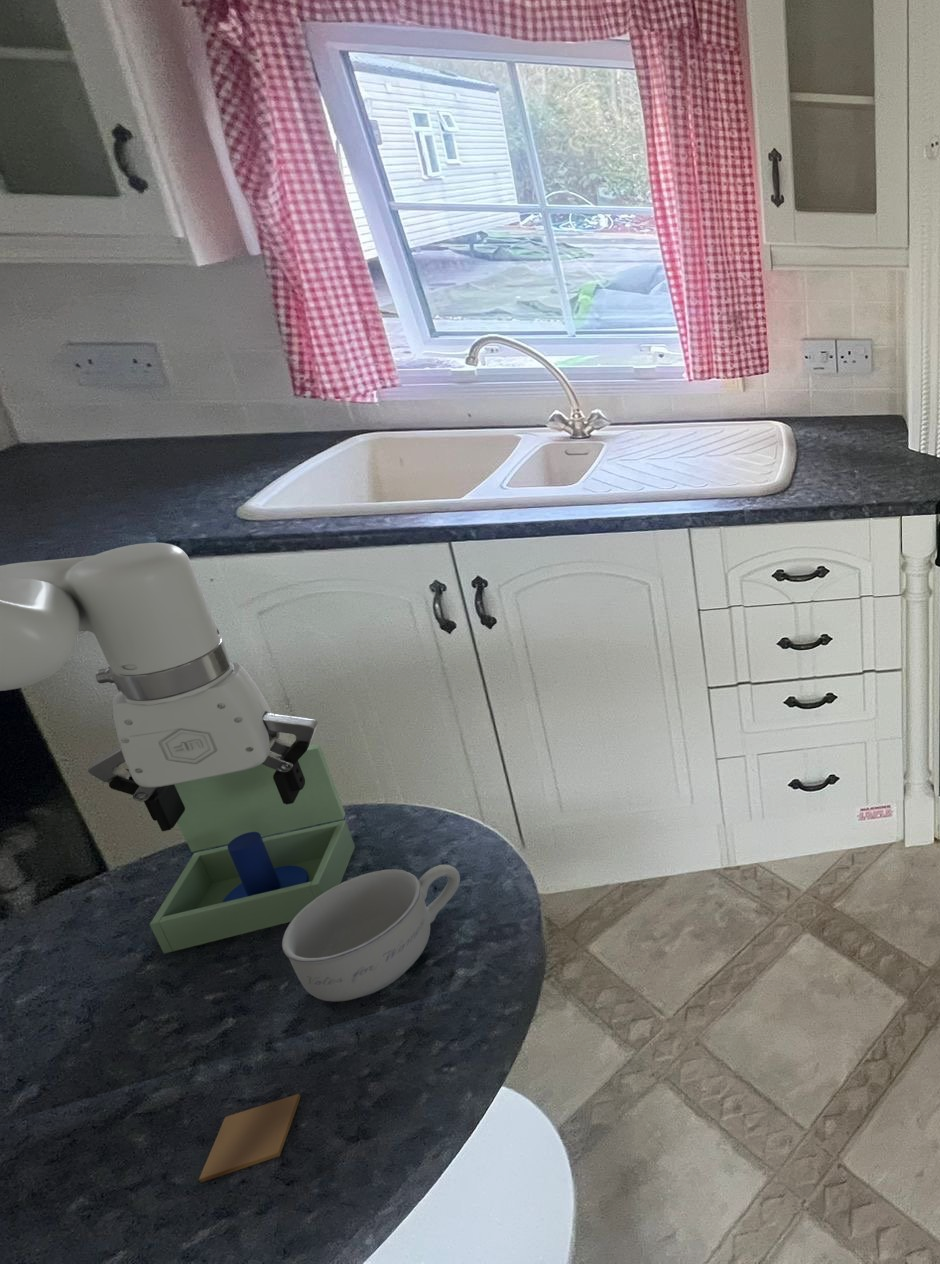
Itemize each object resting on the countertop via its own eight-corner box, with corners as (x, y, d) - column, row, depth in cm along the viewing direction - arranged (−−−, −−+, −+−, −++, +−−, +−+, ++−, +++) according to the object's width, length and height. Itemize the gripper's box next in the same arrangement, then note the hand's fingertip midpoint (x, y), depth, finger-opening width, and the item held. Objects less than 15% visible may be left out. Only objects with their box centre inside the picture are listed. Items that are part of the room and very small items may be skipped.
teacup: (307, 1042, 75) (282, 981, 72) (302, 960, 83) (278, 902, 80) (483, 957, 84) (466, 899, 81) (463, 890, 92) (448, 834, 89)
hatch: (317, 748, 90) (319, 743, 90) (155, 778, 84) (159, 773, 85) (343, 819, 94) (345, 814, 94) (191, 852, 89) (194, 846, 89)
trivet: (200, 1183, 65) (198, 1179, 65) (226, 1120, 69) (225, 1116, 69) (280, 1156, 67) (278, 1152, 67) (301, 1096, 71) (299, 1093, 71)
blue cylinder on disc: (209, 933, 85) (183, 876, 82) (237, 880, 91) (214, 826, 88) (296, 911, 87) (274, 855, 84) (318, 862, 93) (298, 808, 91)
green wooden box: (330, 916, 88) (318, 883, 86) (165, 958, 83) (149, 924, 81) (356, 850, 96) (345, 819, 94) (208, 885, 91) (194, 852, 89)
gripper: (25, 712, 72) (103, 859, 78) (274, 671, 78) (327, 809, 85) (75, 667, 78) (143, 806, 85) (301, 632, 85) (348, 763, 91)
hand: (235, 807), depth 85 cm, fingers open, 9 cm apart
